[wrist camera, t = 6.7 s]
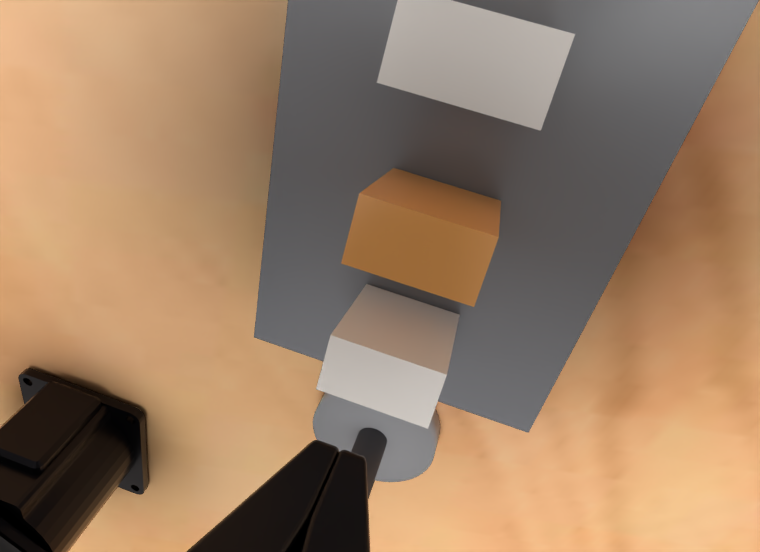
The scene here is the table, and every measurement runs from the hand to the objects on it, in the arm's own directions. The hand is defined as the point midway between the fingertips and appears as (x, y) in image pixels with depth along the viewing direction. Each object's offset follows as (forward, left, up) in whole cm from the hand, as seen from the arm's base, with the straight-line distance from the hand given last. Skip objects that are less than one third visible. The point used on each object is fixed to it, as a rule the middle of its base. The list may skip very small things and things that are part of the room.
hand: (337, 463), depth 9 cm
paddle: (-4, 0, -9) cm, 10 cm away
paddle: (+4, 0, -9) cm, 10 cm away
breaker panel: (0, 0, -11) cm, 11 cm away
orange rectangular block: (0, 0, -9) cm, 9 cm away
